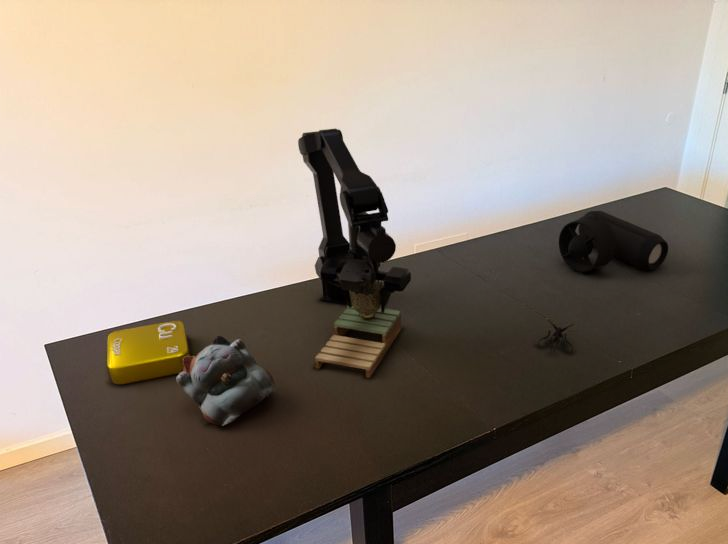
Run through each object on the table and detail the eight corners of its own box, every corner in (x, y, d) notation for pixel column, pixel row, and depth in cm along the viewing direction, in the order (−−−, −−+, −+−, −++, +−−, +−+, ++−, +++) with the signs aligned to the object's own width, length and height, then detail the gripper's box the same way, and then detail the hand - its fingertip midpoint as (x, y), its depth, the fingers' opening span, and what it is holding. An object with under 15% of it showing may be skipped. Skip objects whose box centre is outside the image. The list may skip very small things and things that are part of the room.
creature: (569, 362, 141) (577, 337, 147) (571, 344, 137) (579, 319, 143) (534, 355, 143) (542, 330, 149) (535, 337, 140) (543, 313, 145)
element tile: (112, 348, 140) (106, 329, 137) (186, 335, 145) (182, 316, 142) (112, 387, 129) (105, 367, 126) (192, 371, 134) (187, 351, 131)
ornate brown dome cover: (378, 327, 140) (377, 294, 136) (345, 323, 141) (343, 290, 137) (388, 310, 146) (387, 278, 142) (356, 306, 147) (354, 275, 143)
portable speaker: (666, 268, 179) (673, 234, 174) (642, 277, 174) (649, 242, 169) (597, 236, 196) (602, 204, 191) (574, 244, 191) (578, 211, 186)
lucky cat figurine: (207, 437, 116) (165, 371, 112) (205, 421, 128) (166, 360, 123) (283, 394, 120) (244, 329, 116) (274, 382, 131) (239, 322, 127)
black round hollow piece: (551, 216, 170) (576, 207, 176) (546, 266, 178) (570, 256, 184) (595, 233, 161) (620, 223, 167) (587, 285, 169) (611, 274, 175)
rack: (315, 368, 135) (313, 348, 133) (352, 321, 152) (350, 302, 149) (369, 378, 133) (368, 357, 130) (401, 329, 149) (400, 310, 146)
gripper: (304, 253, 129) (311, 320, 138) (393, 265, 126) (395, 334, 134) (327, 232, 138) (333, 296, 147) (411, 243, 135) (412, 309, 143)
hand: (367, 309), depth 143 cm, fingers open, 7 cm apart
